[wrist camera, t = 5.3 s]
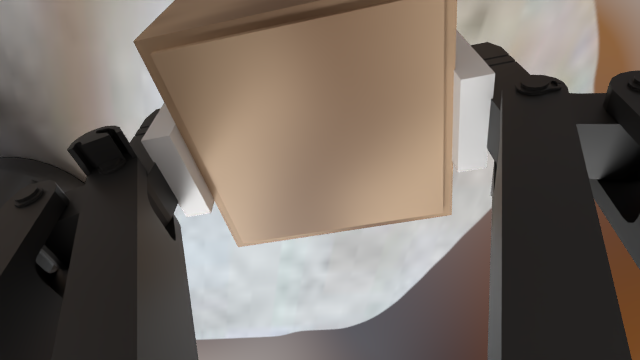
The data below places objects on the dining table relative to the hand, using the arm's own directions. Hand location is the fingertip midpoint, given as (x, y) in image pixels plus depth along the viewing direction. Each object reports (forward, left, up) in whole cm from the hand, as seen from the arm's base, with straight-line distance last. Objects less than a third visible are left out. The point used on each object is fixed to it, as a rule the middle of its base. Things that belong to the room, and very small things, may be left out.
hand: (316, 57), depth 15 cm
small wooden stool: (0, 0, -3) cm, 3 cm away
